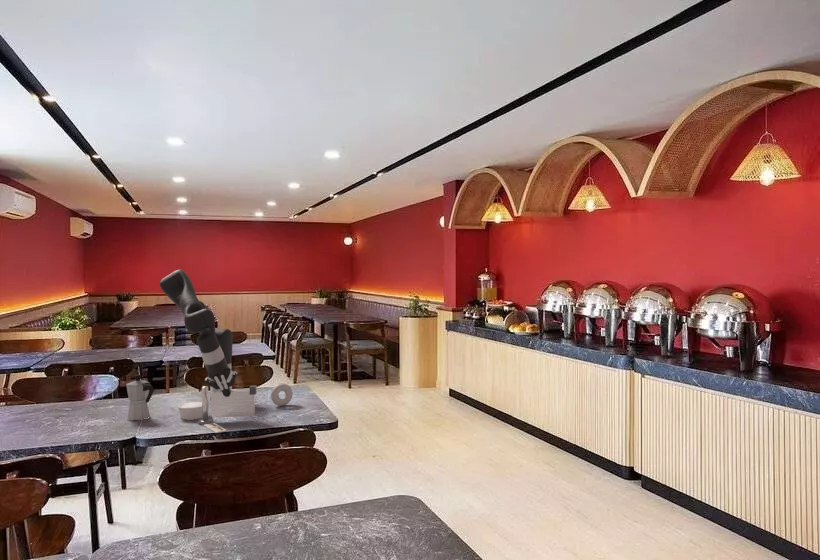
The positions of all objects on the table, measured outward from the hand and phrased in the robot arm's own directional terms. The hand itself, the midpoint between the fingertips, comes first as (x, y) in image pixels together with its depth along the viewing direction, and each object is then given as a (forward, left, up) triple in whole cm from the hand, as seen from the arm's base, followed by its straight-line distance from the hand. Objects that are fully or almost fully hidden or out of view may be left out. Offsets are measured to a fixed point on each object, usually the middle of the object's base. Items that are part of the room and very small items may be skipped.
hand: (228, 395), depth 228 cm
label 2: (+3, -6, -12) cm, 14 cm away
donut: (-10, +32, -12) cm, 36 cm away
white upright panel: (-5, +4, -10) cm, 12 cm away
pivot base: (-11, -4, -12) cm, 17 cm away
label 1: (-4, -5, -12) cm, 13 cm away
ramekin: (-23, -3, -12) cm, 26 cm away
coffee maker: (-38, -18, -12) cm, 44 cm away
